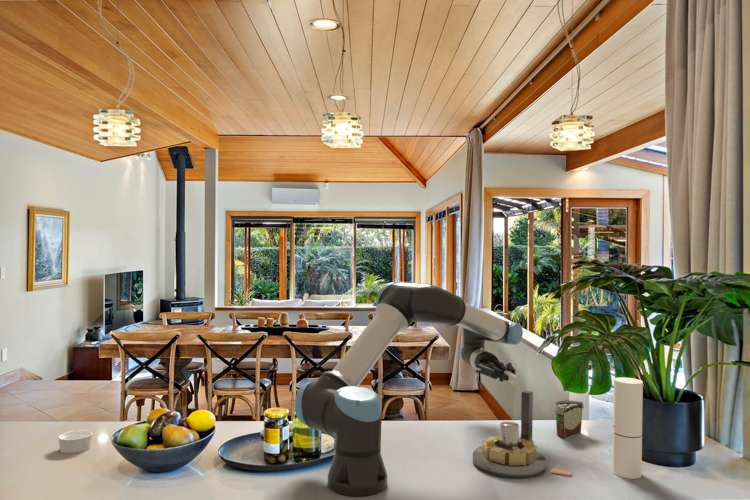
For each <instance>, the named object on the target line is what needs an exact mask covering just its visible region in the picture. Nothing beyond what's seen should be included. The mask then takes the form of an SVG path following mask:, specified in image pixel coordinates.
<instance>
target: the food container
mask: <svg viewBox="0 0 750 500" xmlns="http://www.w3.org/2000/svg"><path fill="white" fill-rule="evenodd" d="M583 410H584V403H583V401H578V400H567V399H565V400H563V399H562V400H558V401H555V403H554V406H553V410H552V411H554V412H555V423H556V436H557V437H559V438H560V439H563V440H568V439H569V438H572V437H575V436H577V435H580V434H581V433H582V423H583V422H582V420H583Z"/></svg>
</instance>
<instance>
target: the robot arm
mask: <svg viewBox="0 0 750 500" xmlns="http://www.w3.org/2000/svg"><path fill="white" fill-rule="evenodd" d="M376 297H377V299H376V300H375V305H376V307H375V316H374V317H373V318H372V319H371V321H370V322H369V323H368V325H367V326H366V327H365V328H364V329H363V330H362V332H361V333H360V335H359V336H358V337H357V338H356V339H355V341H354V342H353V343H352V344H351V346H350V347H349V349H348V350H347V351H346V352H345V354H344V355H343V356H342V357H341V359H340V360H339V361H338V363H336V365H335V366H334V367H333V368H332V370H331V371H324V372H323V373H321V375H320V376H319V378H317V380H316V381H308V382H306V383H304V384H302V385H301V387H300V388H299V389H298V391H297V393H296V395H295V399H294V412H295V415H296V418H297V419H298V421H299V422H300V423H301V424H303V425H304V426H307V427H308V428H310V429H311V430H317V431H319V432H322V433H325V434H328V435H330V436H333V437H334V446H335V447H334V454H333V458H332V461H331V464H330V467H329V469H328V474H327V487H328V488H329V489H330V490H331V491H333V492H335V493H337V494H340V495H343V496H349V497H350V496H351V497H364V496H371V495H374V494H377V493H380V492H383V490H385V489H386V488H387V486H388V473H387V469H386V466H385V462H384V460H383V457H382V450H381V449H382V414H383V410H382V400H381V398H380V395H379V394H378V393H377V392H375V391H374V390H372V389H371V388H367V387H363V386H360V385H361V384H362V382H363V380H364V379H365V378H366V377H367V375H368V374H369V373H370V371H371V370H372V368H374V366H375V364H376V363H377V362H378V361H379V359H380V358H381V357H382V355H383V354H384V352H385V351H386V349H387V348H388V347H389V346H390V345H391V343H392V342H393V340H394V339H395V338H396V337H397V335H398V334H399V333H403V332H406V331H407V330H408V328H409V327H410V326H411V324H412V323H413V322H416V323H417V322H418V323H425V324H426V323H427V324H439V325H440V324H441V325H445V326H448V327H454V326H457V327H460V328H462V336H463V339H462V341H463V342H462V343H463V345H462V346H461V347H460V350H459V356H460V358H461V359H462V361H464V363H465V364H467V365H469V366H470V367H472V368H473V369H475V373H477V374H481V375H484V376H487V377H489V378H490V379H494V380H497V379H499V382H504V381H505V382H507V383H508V384H510V385H511V386H518V385H519V382H518V381H519V376H518V375H516V369H515V368H514V366H513V363H512V362H507V363H504V362H502V361H500V360H499V358H498V357H497V355H495V354H494V353H491V352H489V351H488V350H487V349H485V344H486V343H485V341H488V342H494V343H499V344H505V345H509V346H510V345H516V346H517V345H518V344H519V343H521V341H522V339H523V334H524V330H523V326H522V325H521V324H520V323H518V322H514V321H508V320H505V319H502V318H501V317H500V318H499V317H497V316H495V315H494V314H491V313H488V312H486V311H484V310H482V309H480V308H479V307H475V306H473V305H471V304H470V303H467V302H466V301H465V300H464V298H462V297H461V296H460V295H457V294H455V293H453V292H450V291H448V290H446V289H445V288H441V287H440V286H436V285H433V284H431V283H429V284H428V283H414V282H405V281H393V282H389V283H386V284H385V285H383V286H382V287H381V288H380V290H379V292H378V293H377V296H376Z"/></svg>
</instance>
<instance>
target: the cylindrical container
mask: <svg viewBox="0 0 750 500" xmlns="http://www.w3.org/2000/svg"><path fill="white" fill-rule="evenodd" d="M643 390H644V382H643V380H641V379H638V378H632V377H625V376H624V377H623V376H622V377H614V378H613V405H612V406H613V410H612V413H613V414H612V466H611V467H612V469H611V470H612V473H613V474H614V475H616V476H617V477H621V478H625V479H629V480H630V479H632V480H633V479H641V478H642V469H643V467H642V465H643V463H642V459H643V455H642V453H643V406H644V405H643V404H644V403H643V401H644V398H643V397H644V395H643V394H644V393H643V392H644V391H643Z"/></svg>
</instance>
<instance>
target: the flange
mask: <svg viewBox="0 0 750 500" xmlns="http://www.w3.org/2000/svg"><path fill="white" fill-rule="evenodd" d="M499 424H500V425H499V430H500V432H499V433H500V448H503V449H506V450H511V447H518V446H519V438H520V436H519V434H520V429H519V427H520V426H519V424H518V423H516V422H513V421H503V422H500V423H499ZM472 464H473V466H474V467H475V468H476V469H478V470H480V471H481V472H483V473H486V474H488V475H491V476H494V477H498V478H504V479H512V480H513V479H514V480H515V479H516V480H523V479H527V480H528V479H532V478H536V477H540V476H542V475H544V474H545V473H546V471H547V467H548V466H547V465H548V463H547V458H546V457H545V456H544V455H543V454H542V453H540V452H539V451H537V458H536V460H535V461H533V462H532V463H530V464H526V465H508V463H507V464H505V465H504V464H500V463H497V462H493V461H490V460H489V459H486V457H485V456H484V454H483V453H482V445H481V446H480V447H477V448H476V449H474V450H473V452H472Z"/></svg>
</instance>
